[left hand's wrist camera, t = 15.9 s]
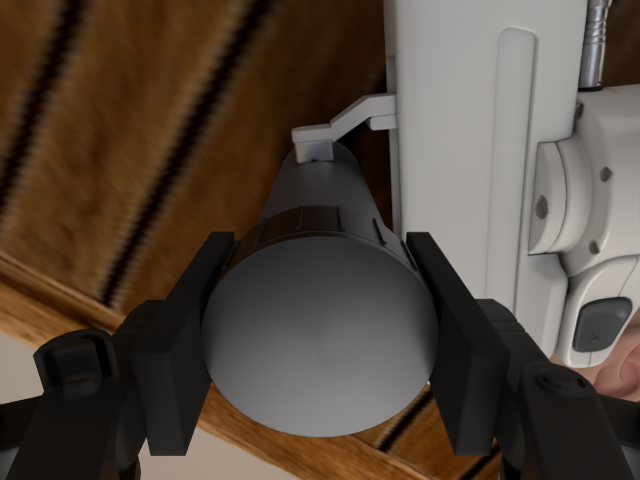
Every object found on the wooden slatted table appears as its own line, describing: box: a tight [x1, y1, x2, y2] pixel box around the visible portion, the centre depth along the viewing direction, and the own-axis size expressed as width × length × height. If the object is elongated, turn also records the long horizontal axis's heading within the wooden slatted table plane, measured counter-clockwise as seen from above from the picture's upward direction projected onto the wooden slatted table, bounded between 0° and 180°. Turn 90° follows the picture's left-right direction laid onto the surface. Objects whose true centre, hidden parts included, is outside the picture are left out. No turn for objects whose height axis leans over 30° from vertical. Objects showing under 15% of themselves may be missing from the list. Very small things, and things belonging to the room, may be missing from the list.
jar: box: [256, 141, 384, 225], centre depth 19 cm, size 5×5×17 cm
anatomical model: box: [549, 306, 640, 403], centre depth 29 cm, size 13×4×12 cm
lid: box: [200, 205, 440, 437], centre depth 11 cm, size 6×6×2 cm
